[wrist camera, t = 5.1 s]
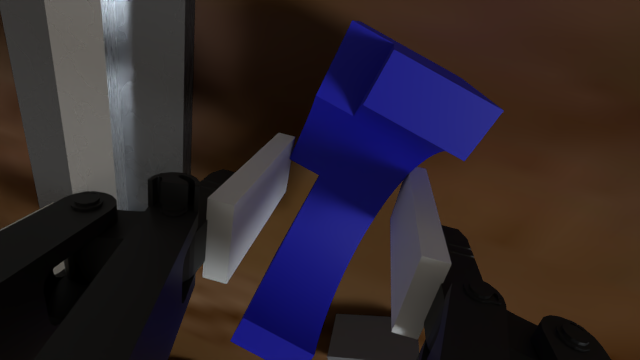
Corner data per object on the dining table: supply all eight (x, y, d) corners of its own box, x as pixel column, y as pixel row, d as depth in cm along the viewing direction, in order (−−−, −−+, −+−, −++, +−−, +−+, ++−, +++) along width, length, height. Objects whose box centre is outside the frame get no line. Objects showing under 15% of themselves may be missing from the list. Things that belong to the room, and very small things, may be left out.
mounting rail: (188, 254, 27) (173, 270, 25) (53, 214, 28) (30, 226, 27) (199, -192, 16) (174, -220, 14) (-27, -229, 17) (-77, -259, 15)
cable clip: (360, 21, 14) (338, 18, 8) (460, 77, 14) (503, 110, 8) (252, 238, 19) (196, 323, 13) (325, 277, 19) (297, 376, 14)
